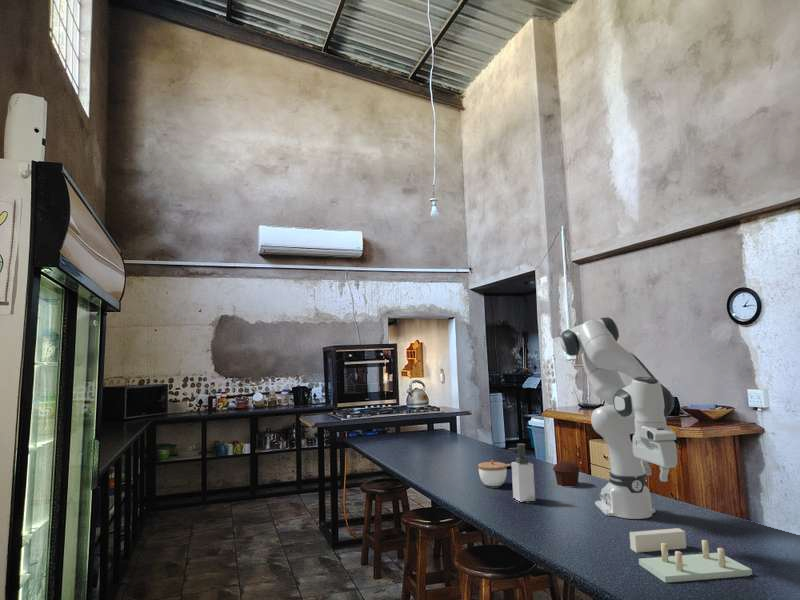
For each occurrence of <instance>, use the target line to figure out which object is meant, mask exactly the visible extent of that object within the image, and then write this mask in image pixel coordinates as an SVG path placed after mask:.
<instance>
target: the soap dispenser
mask: <svg viewBox="0 0 800 600" xmlns="http://www.w3.org/2000/svg"><path fill="white" fill-rule="evenodd" d="M516 446H517V447H509V448H507V452H509V453H510V452H513V453H514V452H517V457H515V461H511V463H510V464H512V466H511V479H512V480H511V482H512V483H511V484H512V499H513V498H515V499H516V500H518V501H520V502H523V501H534V500H535V501H536V492H535V473H534V463H532V462H530V461H529V459H528V457H526V444H525V443H516ZM516 500H515V501H516ZM518 501H517V502H518Z"/></svg>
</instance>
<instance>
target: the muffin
mask: <svg viewBox="0 0 800 600" xmlns="http://www.w3.org/2000/svg"><path fill="white" fill-rule="evenodd" d="M552 470H553V471H554V475H555V480H556V484H557V486H559V485H561V486H560V487H562V486H575V487H577V485H578V486H579V476H580V471H581V468H580V467H579V465H577V464H576V463H575V462H574V461H571V460H560V461H558V462H557V463H555V464H554V466H553V468H552Z"/></svg>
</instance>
